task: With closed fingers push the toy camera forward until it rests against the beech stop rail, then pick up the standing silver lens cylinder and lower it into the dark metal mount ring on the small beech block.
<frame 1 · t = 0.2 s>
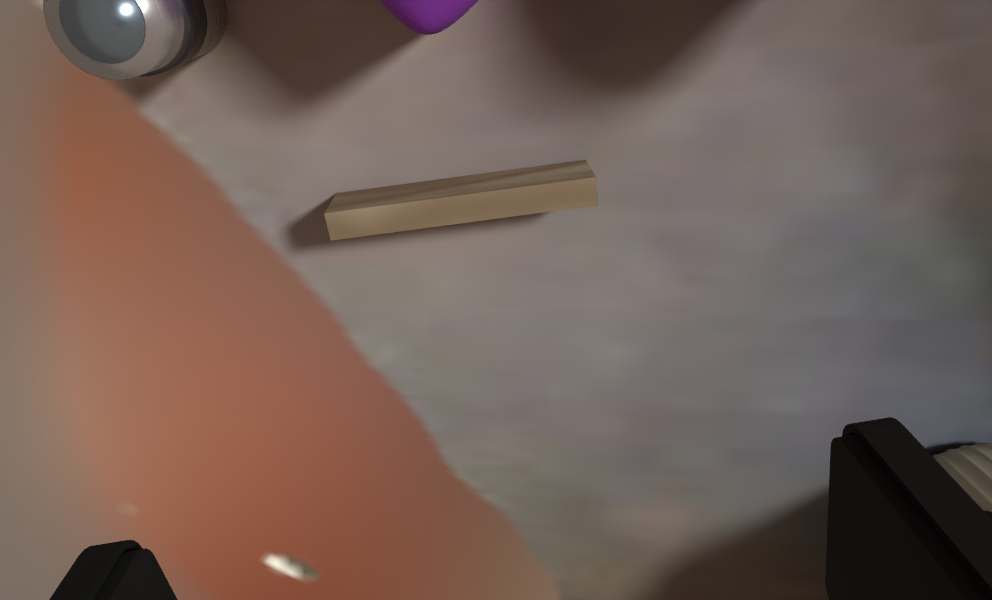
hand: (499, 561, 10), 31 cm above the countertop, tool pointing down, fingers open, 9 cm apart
lens: (180, 9, 35), on the countertop
canister: (950, 503, 50), on the countertop
stop rail: (462, 189, 39), on the countertop
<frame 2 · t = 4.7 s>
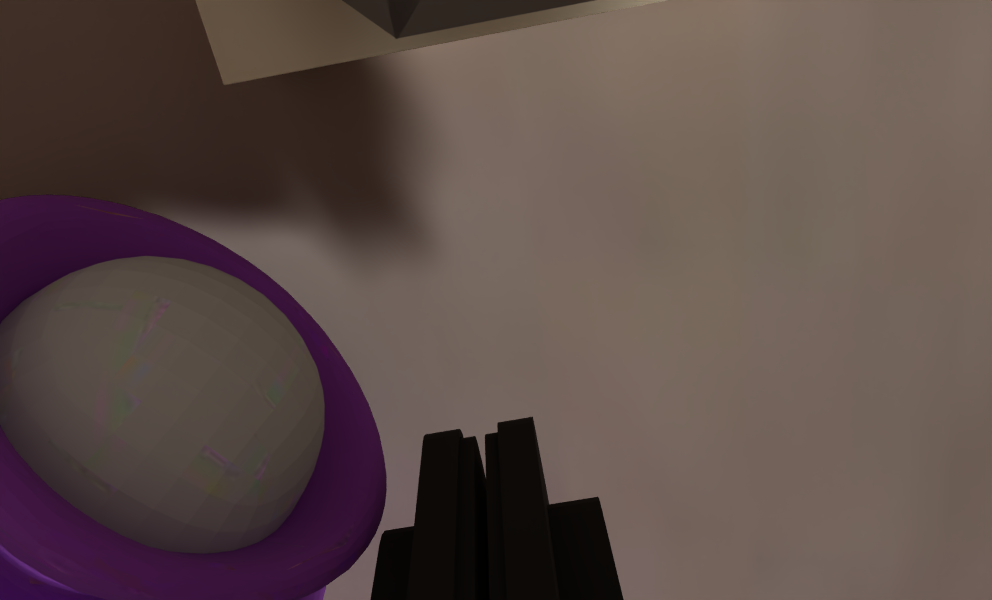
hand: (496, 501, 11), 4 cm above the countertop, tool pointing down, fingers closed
toy camera: (121, 413, 15), on the countertop, touching gripper
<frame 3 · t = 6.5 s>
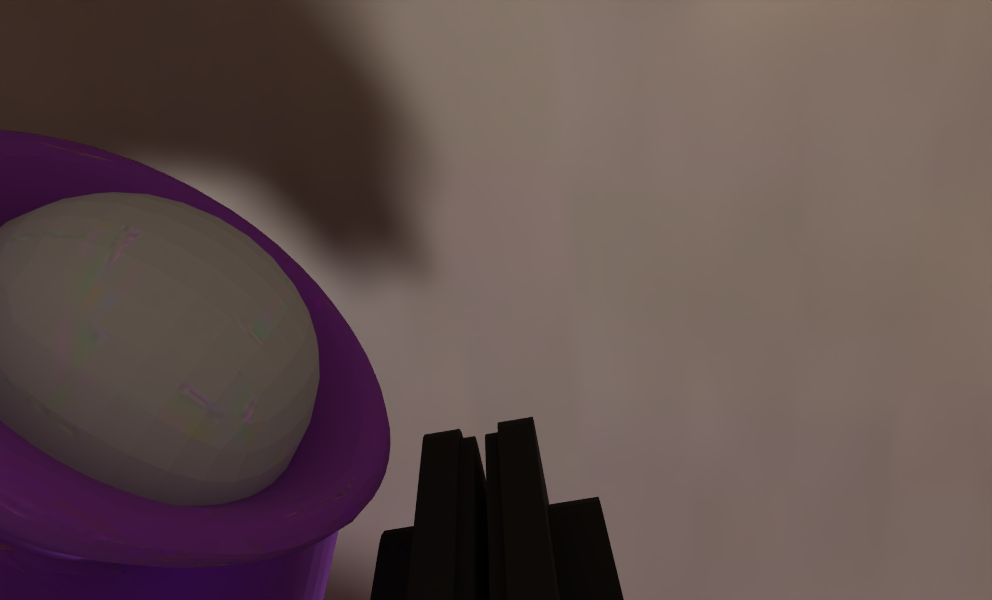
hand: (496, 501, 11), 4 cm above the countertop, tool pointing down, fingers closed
toy camera: (111, 392, 15), on the countertop, touching gripper
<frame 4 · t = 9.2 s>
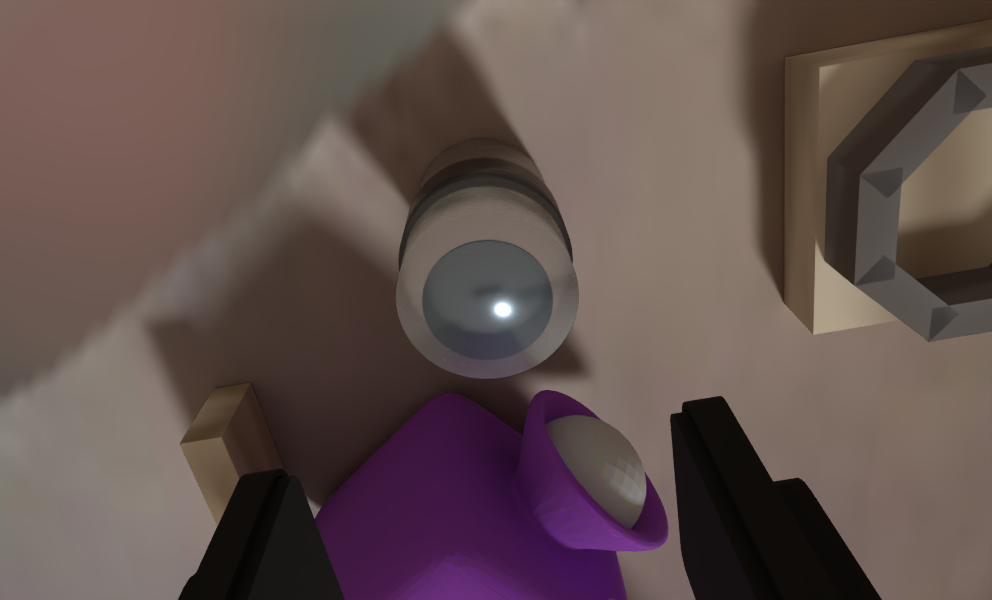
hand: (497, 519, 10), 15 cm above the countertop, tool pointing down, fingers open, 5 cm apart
lens: (483, 202, 24), on the countertop
mount: (914, 167, 24), on the countertop
toy camera: (481, 469, 30), on the countertop
stop rail: (286, 520, 30), on the countertop
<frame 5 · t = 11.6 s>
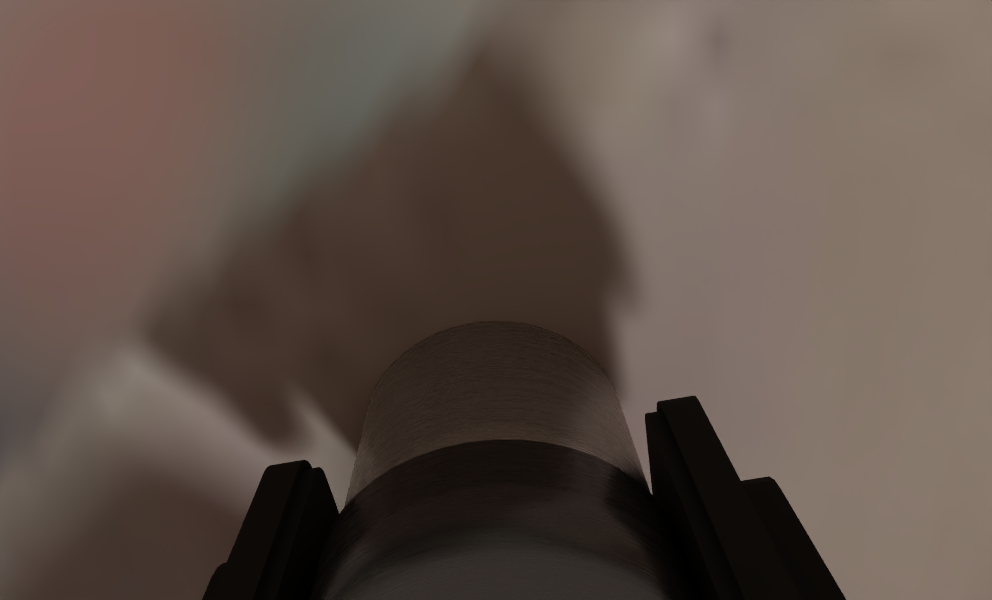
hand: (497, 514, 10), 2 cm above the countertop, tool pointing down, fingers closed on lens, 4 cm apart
lens: (494, 435, 12), on the countertop, touching gripper
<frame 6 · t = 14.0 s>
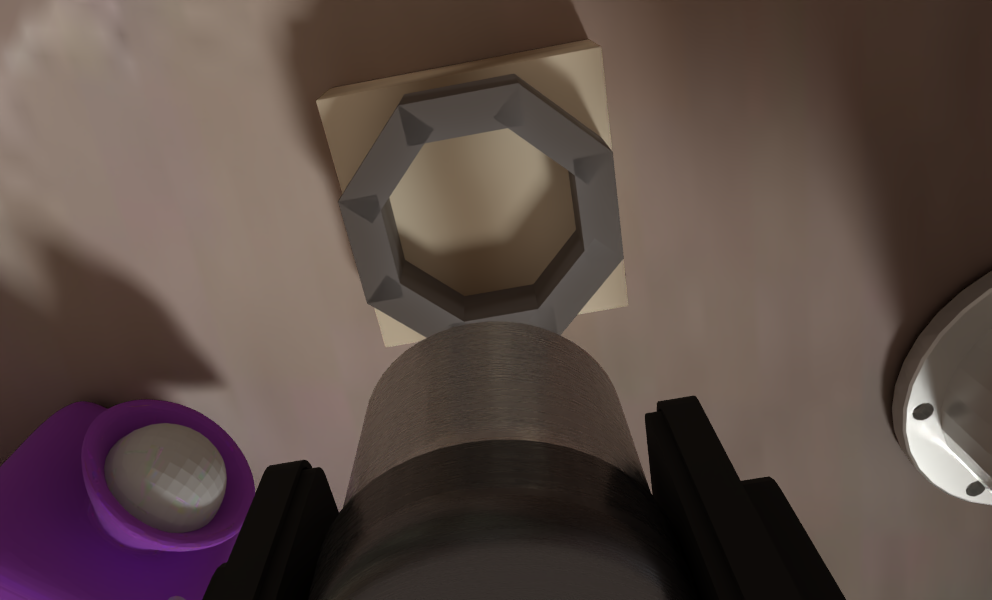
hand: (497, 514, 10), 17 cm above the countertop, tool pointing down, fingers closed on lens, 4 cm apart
lens: (494, 436, 12), point 15 cm above the countertop, touching gripper
mount: (482, 189, 26), on the countertop
toy camera: (145, 473, 31), on the countertop
when the fingers open (5 cm above the countertop, at t = 16.4 s): lens stays where it is, resting on mount.
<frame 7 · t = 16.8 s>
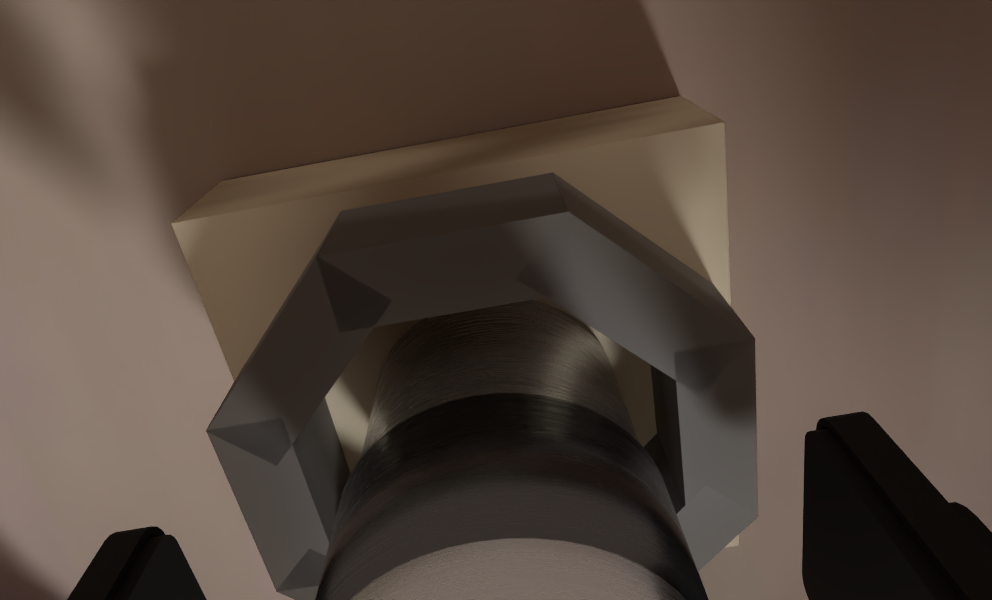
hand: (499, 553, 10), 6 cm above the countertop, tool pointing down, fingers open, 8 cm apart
lens: (497, 404, 13), point 3 cm above the countertop, touching mount
mount: (489, 341, 15), on the countertop
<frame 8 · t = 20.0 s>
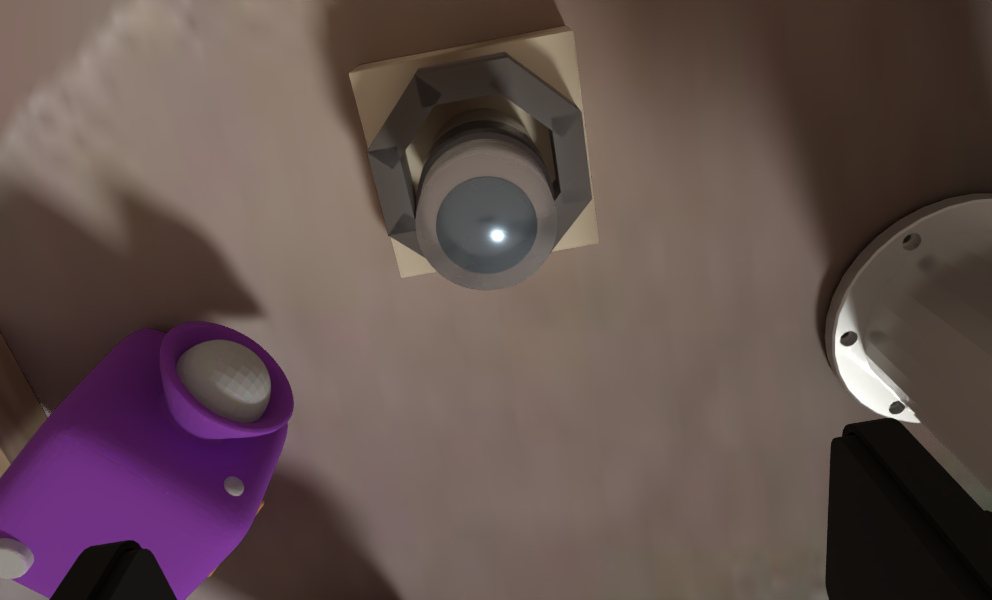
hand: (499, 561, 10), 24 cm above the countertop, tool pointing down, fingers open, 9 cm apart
lens: (483, 162, 29), point 3 cm above the countertop, touching mount
mount: (480, 149, 32), on the countertop
toy camera: (196, 394, 37), on the countertop
stop rail: (43, 436, 37), on the countertop
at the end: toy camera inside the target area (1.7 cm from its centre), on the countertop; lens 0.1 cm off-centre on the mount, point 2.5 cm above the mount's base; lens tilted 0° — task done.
